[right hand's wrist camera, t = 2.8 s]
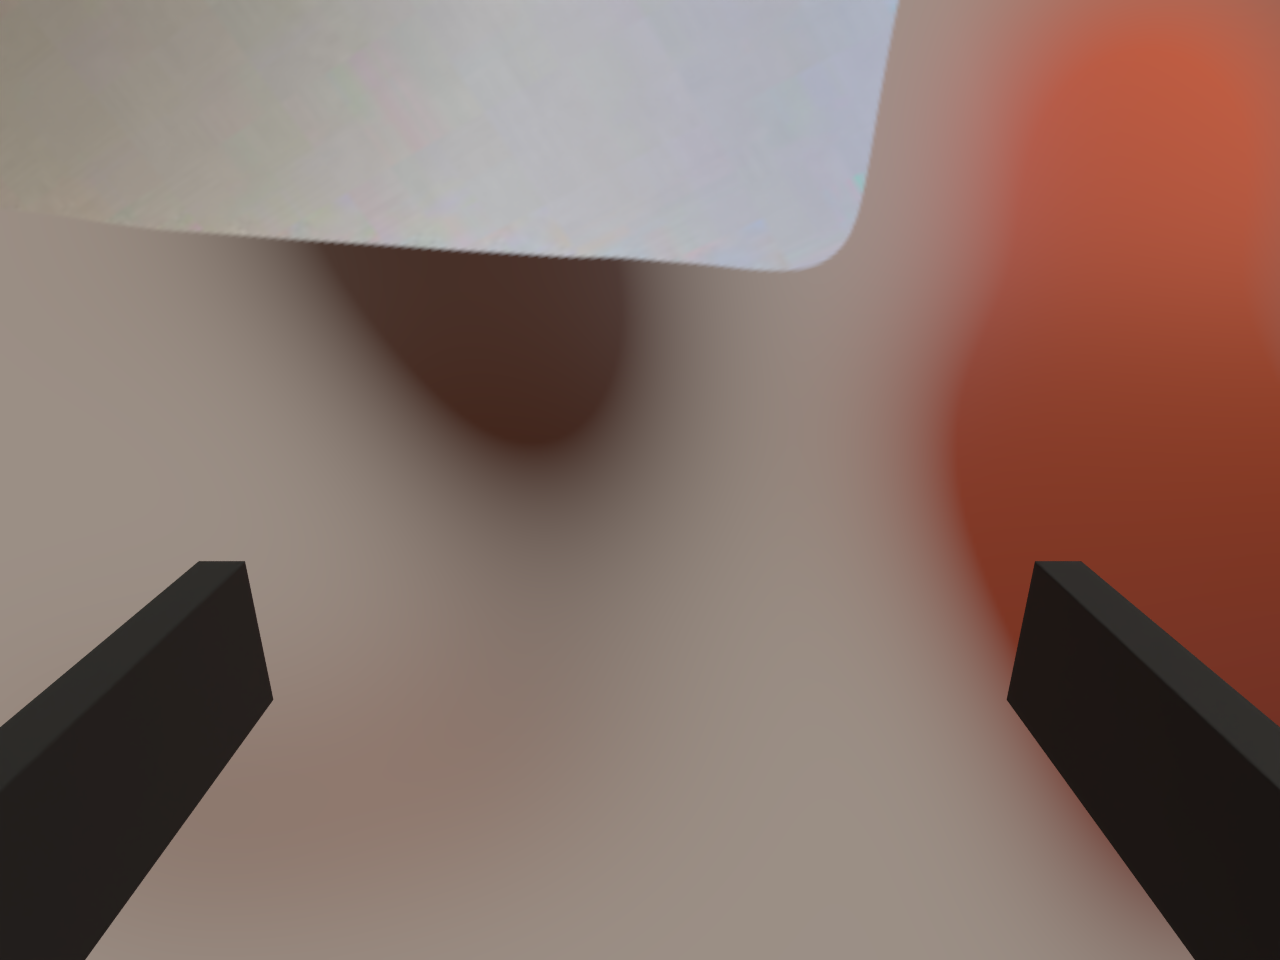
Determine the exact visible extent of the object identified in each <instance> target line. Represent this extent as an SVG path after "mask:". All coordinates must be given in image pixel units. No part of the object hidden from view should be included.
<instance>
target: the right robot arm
mask: <svg viewBox="0 0 1280 960" xmlns="http://www.w3.org/2000/svg"><path fill="white" fill-rule="evenodd" d="M272 701H273V696H272V691H271V686H270V681H269V677H268V672H267V667H266V662H265V657H264V652H263V647H262V642H261V637H260V633H259V628H258V623H257V618H256V613H255V608H254V603H253V598H252V594H251V589H250V584H249V579H248V574H247V569H246V564H245V561H199V562H197V563H196V564H195V565H194V566H193V567H192V568H190V569H189V570H188V571H187V572H185V573H184V574H183V575H182V576H181V577H180V578H178V579H177V580H176V581H175V582H174V583H172V584H171V585H170V586H169V587H168V588H166V589H165V590H164V591H163V592H162V593H160V594H159V595H158V596H157V597H156V598H154V599H153V600H152V601H151V602H150V603H148V604H147V605H146V606H145V607H144V608H142V609H141V610H140V611H139V612H138V613H136V614H135V615H134V616H133V617H132V618H130V619H129V620H128V621H127V622H126V623H124V624H123V625H122V626H121V627H120V628H119V629H117V630H116V631H115V632H114V633H113V634H111V635H110V636H109V637H108V638H107V639H105V640H104V641H103V642H102V643H101V644H99V645H98V646H97V647H96V648H95V649H93V650H92V651H91V652H90V653H89V654H87V655H86V656H85V657H84V658H83V659H81V660H80V661H79V662H78V663H77V664H75V665H74V666H73V667H72V668H71V669H69V670H68V671H67V672H66V673H65V674H63V675H62V676H61V677H60V678H59V679H57V680H56V681H55V682H54V683H53V684H51V685H50V686H49V687H48V688H47V689H45V690H44V691H43V692H42V693H41V694H40V695H38V696H37V697H36V698H35V699H34V700H32V701H31V702H30V703H29V704H28V705H26V706H25V707H24V708H23V709H22V710H20V711H19V712H18V713H17V714H16V715H14V716H13V717H12V718H11V719H10V720H8V721H7V722H6V723H5V724H4V725H2V726H1V727H0V960H85V959H86V958H87V956H88V955H89V954H90V952H91V951H92V949H93V948H94V947H95V945H96V944H97V943H98V941H99V940H100V938H101V937H102V936H103V934H104V933H105V932H106V930H107V929H108V927H109V926H110V925H111V923H112V922H113V920H114V919H115V918H116V916H117V915H118V914H119V912H120V911H121V909H122V908H123V907H124V905H125V904H126V903H127V901H128V900H129V898H130V897H131V896H132V894H133V893H134V891H135V890H136V889H137V887H138V886H139V884H140V883H141V882H142V880H143V879H144V877H145V876H146V875H147V873H148V872H149V871H150V869H151V868H152V867H153V865H154V864H155V862H156V861H157V860H158V858H159V857H160V856H161V854H162V853H163V851H164V850H165V849H166V847H167V846H168V844H169V843H170V842H171V840H172V839H173V838H174V836H175V835H176V833H177V832H178V831H179V829H180V828H181V826H182V825H183V824H184V822H185V821H186V820H187V818H188V817H189V815H190V814H191V813H192V811H193V810H194V809H195V807H196V806H197V804H198V803H199V802H200V800H201V799H202V797H203V796H204V795H205V793H206V792H207V791H208V789H209V788H210V786H211V785H212V784H213V782H214V781H215V779H216V778H217V777H218V775H219V774H220V772H221V771H222V770H223V768H224V767H225V766H226V764H227V763H228V762H229V760H230V759H231V757H232V756H233V755H234V753H235V752H236V750H237V749H238V748H239V746H240V745H241V744H242V742H243V741H244V739H245V738H246V737H247V735H248V734H249V732H250V731H251V730H252V728H253V727H254V726H255V724H256V723H257V721H258V720H259V719H260V717H261V716H262V715H263V713H264V712H265V710H266V709H267V707H268V706H269V705H270V703H271V702H272ZM1007 701H1008V702H1009V703H1010V705H1011V706H1012V708H1013V709H1014V710H1015V712H1016V713H1017V714H1018V716H1019V717H1020V719H1021V720H1022V721H1023V723H1024V724H1025V726H1026V727H1027V728H1028V730H1029V731H1030V732H1031V734H1032V735H1033V737H1034V738H1035V739H1036V741H1037V742H1038V743H1039V745H1040V746H1041V748H1042V749H1043V750H1044V752H1045V753H1046V754H1047V756H1048V757H1049V759H1050V760H1051V762H1052V763H1053V764H1054V766H1055V767H1056V768H1057V770H1058V771H1059V773H1060V774H1061V775H1062V777H1063V778H1064V779H1065V781H1066V782H1067V784H1068V785H1069V786H1070V788H1071V789H1072V790H1073V792H1074V793H1075V795H1076V796H1077V797H1078V799H1079V800H1080V802H1081V803H1082V804H1083V806H1084V807H1085V808H1086V810H1087V811H1088V813H1089V814H1090V815H1091V817H1092V818H1093V819H1094V821H1095V822H1096V824H1097V825H1098V826H1099V828H1100V829H1101V831H1102V832H1103V833H1104V835H1105V836H1106V838H1107V839H1108V840H1109V842H1110V843H1111V844H1112V846H1113V847H1114V849H1115V850H1116V851H1117V853H1118V854H1119V855H1120V857H1121V858H1122V860H1123V861H1124V862H1125V864H1126V865H1127V867H1128V868H1129V869H1130V871H1131V872H1132V873H1133V875H1134V876H1135V878H1136V879H1137V880H1138V882H1139V883H1140V884H1141V886H1142V887H1143V889H1144V890H1145V891H1146V893H1147V894H1148V896H1149V897H1150V898H1151V900H1152V901H1153V902H1154V904H1155V905H1156V907H1157V908H1158V909H1159V911H1160V912H1161V913H1162V915H1163V916H1164V918H1165V919H1166V920H1167V922H1168V923H1169V925H1170V926H1171V927H1172V929H1173V930H1174V932H1175V933H1176V934H1177V936H1178V937H1179V938H1180V940H1181V941H1182V943H1183V944H1184V945H1185V947H1186V948H1187V950H1188V951H1189V952H1190V954H1191V955H1192V956H1193V958H1194V959H1195V960H1280V727H1279V726H1278V725H1276V724H1275V723H1274V722H1273V721H1272V720H1270V719H1269V718H1268V717H1267V716H1266V715H1264V714H1263V713H1262V712H1261V711H1260V710H1258V709H1257V708H1256V707H1255V706H1254V705H1252V704H1251V703H1250V702H1249V701H1248V700H1246V699H1245V698H1244V697H1243V696H1242V695H1240V694H1239V693H1238V692H1237V691H1236V690H1235V689H1233V688H1232V687H1231V686H1230V685H1228V684H1227V683H1226V682H1225V681H1224V680H1223V679H1221V678H1220V677H1219V676H1218V675H1217V674H1215V673H1214V672H1213V671H1212V670H1211V669H1209V668H1208V667H1207V666H1206V665H1204V664H1203V663H1202V662H1201V661H1200V660H1199V659H1197V658H1196V657H1195V656H1194V655H1193V654H1191V653H1190V652H1189V651H1188V650H1187V649H1185V648H1184V647H1183V646H1182V645H1181V644H1179V643H1178V642H1177V641H1176V640H1175V639H1173V638H1172V637H1171V636H1170V635H1169V634H1168V633H1166V632H1165V631H1164V630H1163V629H1162V628H1160V627H1159V626H1158V625H1157V624H1156V623H1154V622H1153V621H1152V620H1151V619H1150V618H1148V617H1147V616H1146V615H1145V614H1144V613H1142V612H1141V611H1140V610H1139V609H1138V608H1136V607H1135V606H1134V605H1133V604H1132V603H1130V602H1129V601H1128V600H1127V599H1126V598H1124V597H1123V596H1122V595H1121V594H1120V593H1118V592H1117V591H1116V590H1115V589H1114V588H1112V587H1111V586H1110V585H1109V584H1108V583H1106V582H1105V581H1104V580H1103V579H1102V578H1100V577H1099V576H1098V575H1097V574H1096V573H1095V572H1093V571H1092V570H1091V569H1090V568H1089V567H1087V566H1086V565H1085V564H1084V563H1083V562H1081V561H1035V564H1034V569H1033V574H1032V579H1031V584H1030V589H1029V594H1028V598H1027V603H1026V608H1025V613H1024V618H1023V623H1022V628H1021V633H1020V638H1019V642H1018V647H1017V652H1016V657H1015V662H1014V667H1013V672H1012V677H1011V681H1010V686H1009V691H1008V696H1007Z"/></svg>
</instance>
